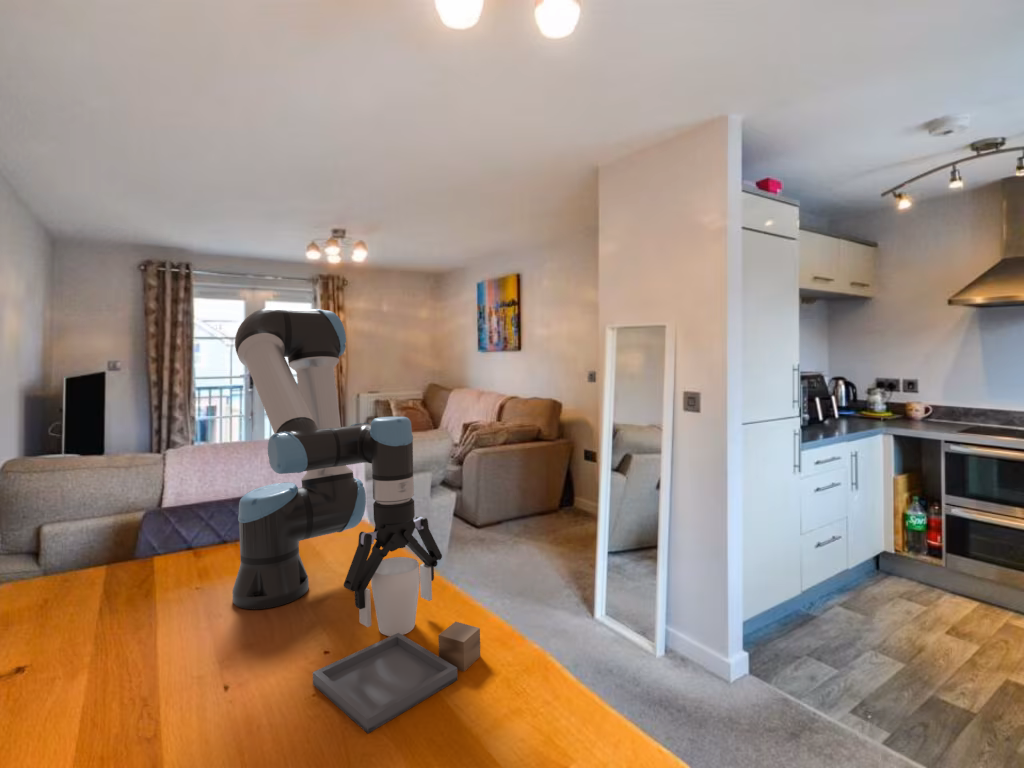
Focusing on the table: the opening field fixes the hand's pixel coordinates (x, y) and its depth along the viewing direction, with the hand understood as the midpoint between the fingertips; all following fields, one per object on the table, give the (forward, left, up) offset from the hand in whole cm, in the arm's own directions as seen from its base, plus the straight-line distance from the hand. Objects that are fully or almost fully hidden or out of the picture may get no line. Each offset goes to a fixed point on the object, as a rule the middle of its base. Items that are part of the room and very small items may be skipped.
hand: (397, 610), depth 99 cm
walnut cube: (+17, +1, -4) cm, 17 cm away
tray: (+13, -11, -3) cm, 17 cm away
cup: (0, 0, -4) cm, 4 cm away
